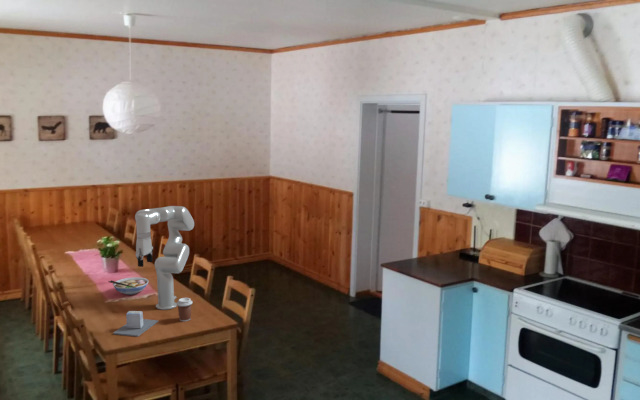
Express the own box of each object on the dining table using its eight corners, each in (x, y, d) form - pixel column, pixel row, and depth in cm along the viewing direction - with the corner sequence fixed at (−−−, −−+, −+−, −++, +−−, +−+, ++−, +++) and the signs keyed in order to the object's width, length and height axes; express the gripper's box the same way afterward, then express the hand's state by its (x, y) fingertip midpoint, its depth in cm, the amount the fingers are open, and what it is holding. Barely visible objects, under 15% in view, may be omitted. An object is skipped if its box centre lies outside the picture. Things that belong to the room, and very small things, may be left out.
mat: (134, 319, 331) (134, 318, 331) (158, 321, 327) (158, 320, 327) (113, 334, 310) (113, 332, 310) (137, 336, 306) (137, 335, 306)
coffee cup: (176, 317, 334) (175, 298, 332) (192, 315, 337) (191, 296, 335) (178, 323, 325) (177, 303, 323) (194, 321, 329) (193, 301, 327)
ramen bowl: (157, 291, 380) (157, 279, 379) (130, 301, 361) (129, 289, 360) (132, 285, 393) (132, 273, 392) (104, 294, 374) (103, 282, 373)
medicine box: (143, 325, 319) (142, 311, 318) (140, 328, 315) (139, 313, 314) (129, 325, 320) (129, 310, 318) (126, 328, 316) (125, 313, 314)
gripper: (145, 231, 332) (147, 259, 335) (129, 238, 315) (131, 267, 318) (157, 232, 330) (158, 260, 333) (141, 238, 314) (143, 268, 316)
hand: (145, 264), depth 326 cm, fingers open, 9 cm apart
